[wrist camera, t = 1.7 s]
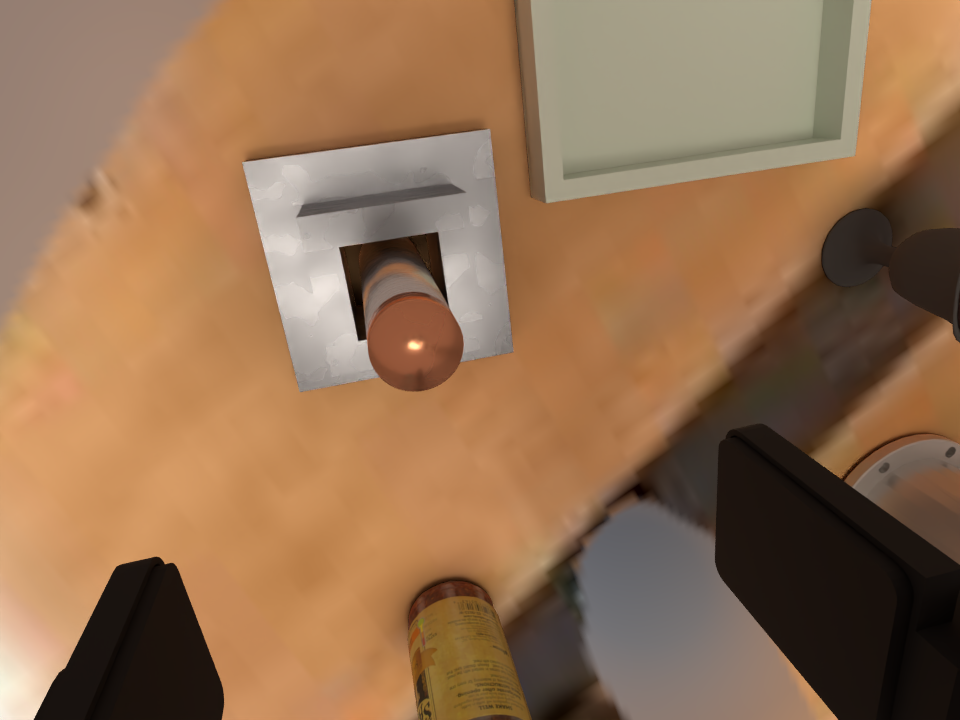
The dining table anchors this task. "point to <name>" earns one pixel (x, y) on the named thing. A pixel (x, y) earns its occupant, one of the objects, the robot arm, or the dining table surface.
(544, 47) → the tray
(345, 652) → the dining table surface
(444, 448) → the dining table surface
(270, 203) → the block
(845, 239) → the sundae
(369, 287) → the pin
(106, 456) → the dining table surface
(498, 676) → the sauce bottle
